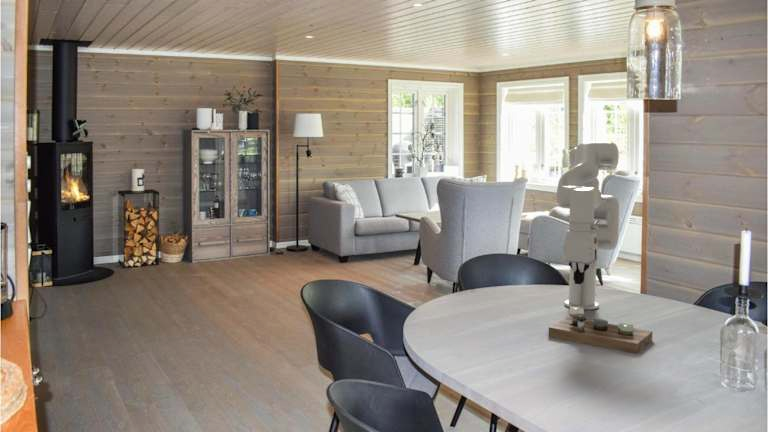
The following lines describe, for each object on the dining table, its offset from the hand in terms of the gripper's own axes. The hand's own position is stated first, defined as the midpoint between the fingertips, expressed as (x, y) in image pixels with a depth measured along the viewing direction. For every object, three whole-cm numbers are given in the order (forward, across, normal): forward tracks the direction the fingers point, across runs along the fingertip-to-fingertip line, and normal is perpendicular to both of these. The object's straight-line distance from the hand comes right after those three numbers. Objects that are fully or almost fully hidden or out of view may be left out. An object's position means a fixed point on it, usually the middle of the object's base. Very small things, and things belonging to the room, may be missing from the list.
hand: (578, 283), depth 226 cm
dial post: (+14, -4, +6) cm, 16 cm away
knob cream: (+14, 0, 0) cm, 14 cm away
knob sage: (+16, -16, 0) cm, 23 cm away
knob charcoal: (+17, -8, 0) cm, 18 cm away
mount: (+17, -8, 0) cm, 19 cm away
